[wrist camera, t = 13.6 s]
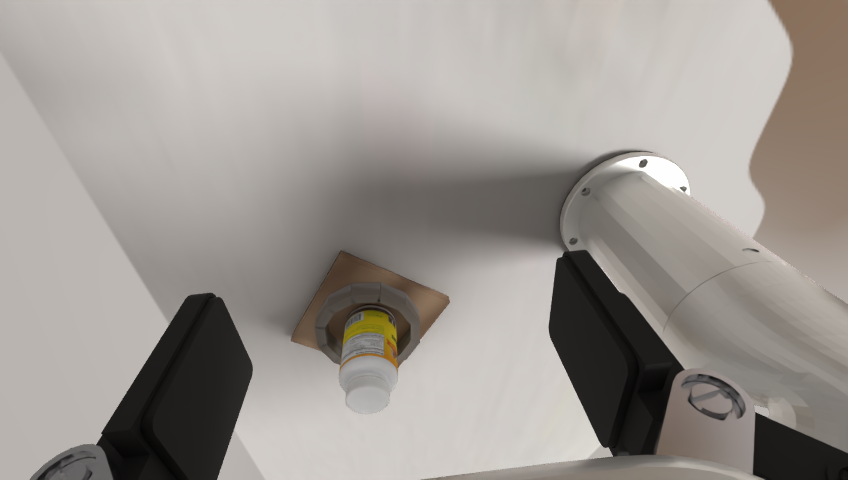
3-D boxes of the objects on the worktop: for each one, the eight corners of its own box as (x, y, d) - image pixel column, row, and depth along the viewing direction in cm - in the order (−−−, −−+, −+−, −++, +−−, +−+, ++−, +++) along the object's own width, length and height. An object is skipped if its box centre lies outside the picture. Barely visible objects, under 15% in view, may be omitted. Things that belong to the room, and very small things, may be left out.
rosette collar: (448, 296, 45) (452, 314, 42) (392, 367, 50) (392, 388, 48) (341, 250, 41) (338, 268, 38) (292, 334, 46) (287, 354, 44)
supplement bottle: (391, 341, 47) (392, 422, 38) (343, 336, 46) (332, 418, 37) (400, 305, 44) (403, 383, 35) (349, 299, 43) (339, 378, 34)
